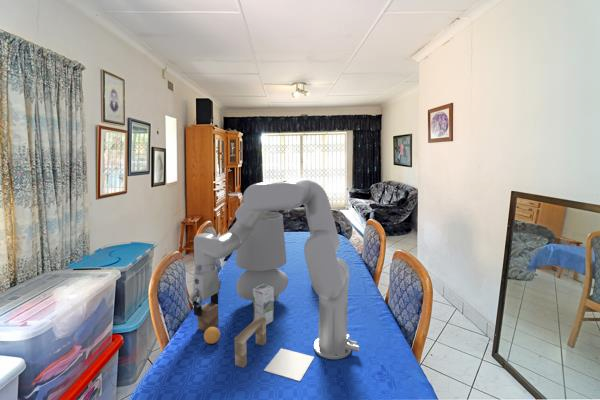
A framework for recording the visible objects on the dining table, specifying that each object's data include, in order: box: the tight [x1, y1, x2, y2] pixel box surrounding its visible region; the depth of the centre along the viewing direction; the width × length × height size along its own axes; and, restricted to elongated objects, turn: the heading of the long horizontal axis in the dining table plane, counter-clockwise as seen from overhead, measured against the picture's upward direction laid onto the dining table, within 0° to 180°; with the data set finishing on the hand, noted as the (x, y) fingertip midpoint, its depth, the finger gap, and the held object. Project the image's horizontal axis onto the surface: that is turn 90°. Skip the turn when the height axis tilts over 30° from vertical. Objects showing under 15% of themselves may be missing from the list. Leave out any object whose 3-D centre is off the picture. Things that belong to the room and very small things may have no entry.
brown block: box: [196, 302, 220, 332], centre depth 124 cm, size 5×6×8 cm
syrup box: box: [252, 284, 275, 326], centre depth 126 cm, size 6×6×14 cm
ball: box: [203, 326, 221, 345], centre depth 113 cm, size 6×6×6 cm
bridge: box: [233, 316, 267, 368], centre depth 107 cm, size 3×14×9 cm, turn 157°
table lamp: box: [235, 211, 289, 303], centre depth 140 cm, size 23×22×40 cm
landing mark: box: [263, 347, 315, 382], centre depth 102 cm, size 12×12×1 cm
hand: (206, 309), depth 123 cm, fingers open, 9 cm apart
